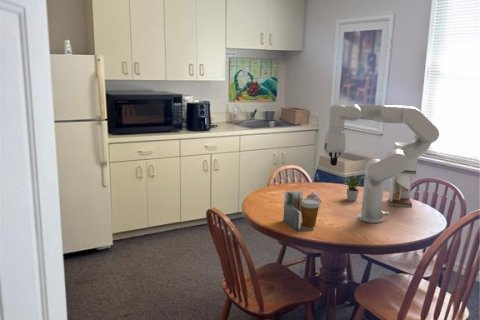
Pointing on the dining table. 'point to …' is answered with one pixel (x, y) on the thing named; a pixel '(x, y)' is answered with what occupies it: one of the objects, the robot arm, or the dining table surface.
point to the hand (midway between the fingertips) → (333, 165)
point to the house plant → (352, 188)
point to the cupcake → (314, 196)
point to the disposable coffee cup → (309, 211)
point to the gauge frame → (293, 210)
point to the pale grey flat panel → (297, 213)
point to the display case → (402, 183)
